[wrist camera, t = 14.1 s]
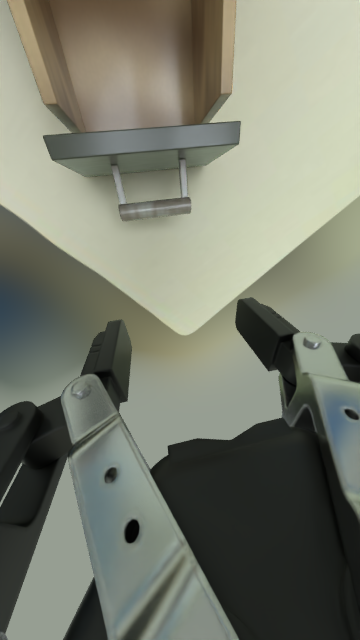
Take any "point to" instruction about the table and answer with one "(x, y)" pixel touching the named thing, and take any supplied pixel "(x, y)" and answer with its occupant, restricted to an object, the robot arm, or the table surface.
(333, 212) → the table surface
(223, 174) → the table surface
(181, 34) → the drawer
